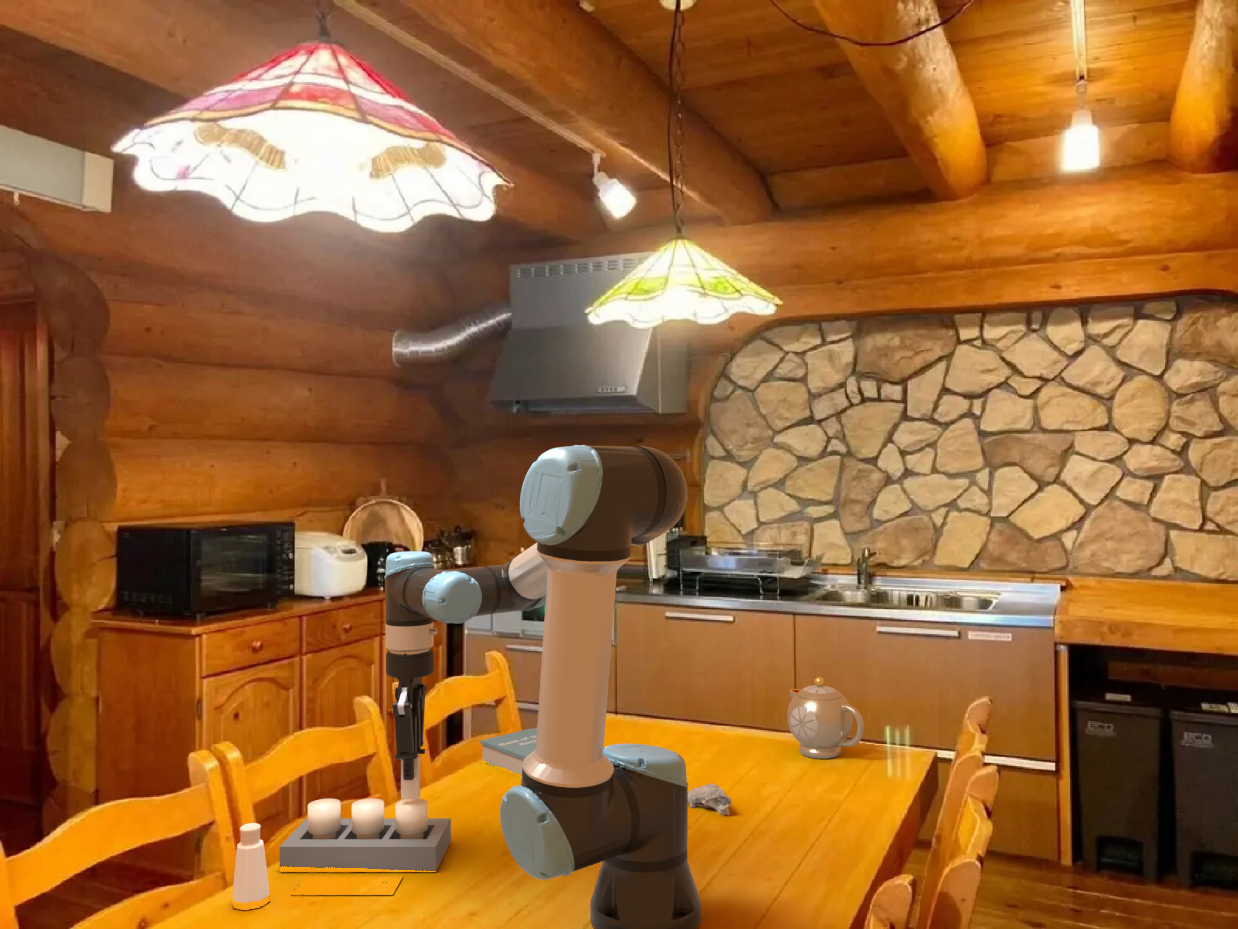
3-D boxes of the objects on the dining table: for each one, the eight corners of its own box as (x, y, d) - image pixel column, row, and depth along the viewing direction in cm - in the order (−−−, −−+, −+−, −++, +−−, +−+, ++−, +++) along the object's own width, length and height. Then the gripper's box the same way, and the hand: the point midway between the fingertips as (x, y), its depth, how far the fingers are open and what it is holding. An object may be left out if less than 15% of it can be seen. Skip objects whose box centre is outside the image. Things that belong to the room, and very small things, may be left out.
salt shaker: (276, 894, 144) (275, 818, 144) (264, 911, 139) (263, 832, 139) (238, 895, 144) (237, 819, 144) (225, 912, 138) (224, 833, 138)
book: (480, 764, 207) (480, 740, 207) (541, 748, 217) (541, 726, 217) (547, 790, 190) (547, 764, 190) (610, 771, 201) (609, 747, 201)
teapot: (772, 754, 210) (771, 677, 210) (808, 740, 220) (807, 667, 220) (846, 771, 198) (845, 690, 198) (881, 757, 207) (880, 678, 207)
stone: (699, 822, 172) (699, 799, 172) (677, 797, 184) (678, 775, 184) (734, 819, 174) (734, 796, 173) (710, 795, 185) (711, 773, 185)
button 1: (335, 847, 155) (334, 809, 155) (303, 847, 155) (303, 809, 155) (344, 835, 160) (344, 798, 160) (314, 835, 160) (313, 798, 160)
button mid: (379, 847, 154) (379, 809, 154) (347, 847, 155) (347, 809, 155) (387, 835, 159) (387, 798, 159) (357, 835, 160) (356, 798, 160)
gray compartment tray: (435, 873, 151) (435, 846, 151) (279, 873, 151) (279, 847, 151) (450, 842, 163) (450, 818, 163) (306, 842, 163) (306, 818, 163)
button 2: (424, 847, 154) (423, 809, 154) (392, 847, 154) (392, 809, 154) (431, 835, 159) (430, 798, 159) (400, 835, 159) (399, 798, 159)
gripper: (424, 658, 150) (425, 812, 150) (441, 641, 163) (442, 784, 164) (375, 658, 150) (376, 812, 151) (396, 641, 163) (397, 783, 164)
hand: (410, 797), depth 157 cm, fingers closed
